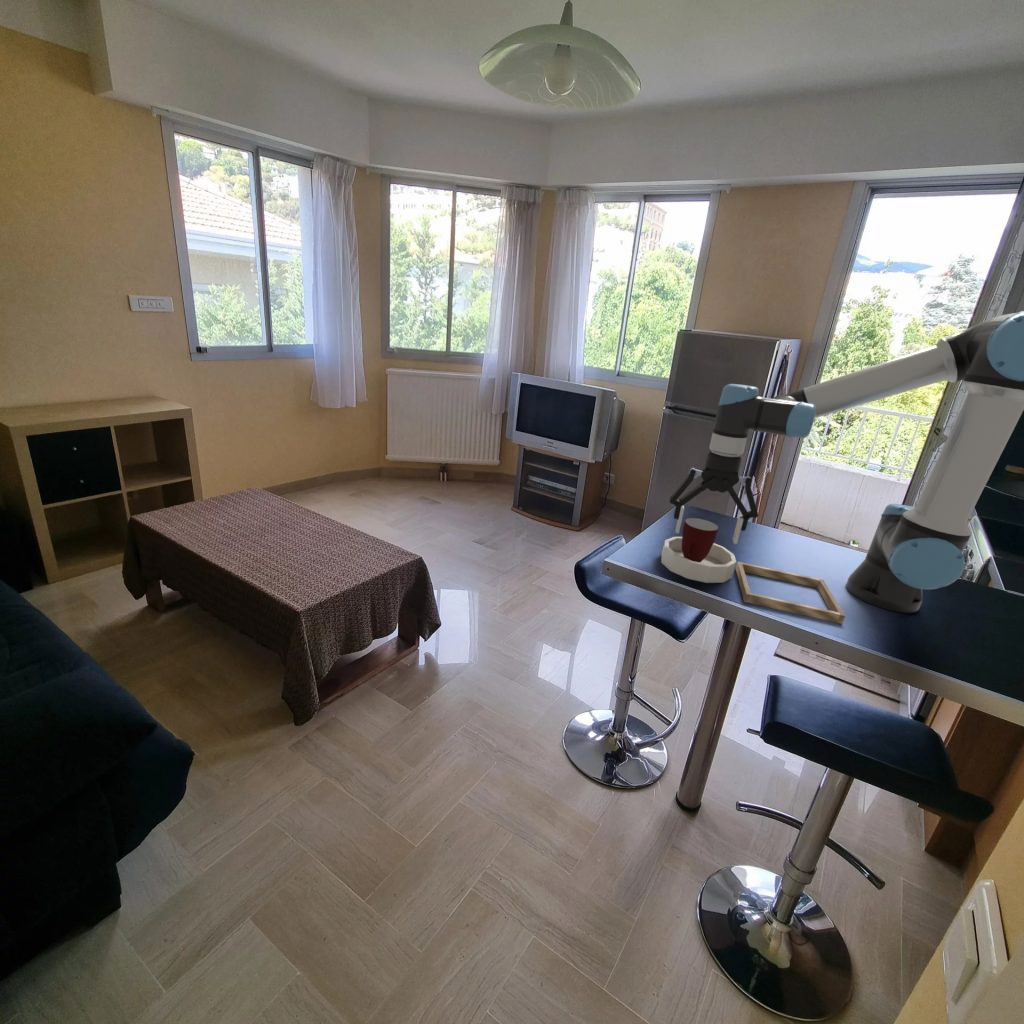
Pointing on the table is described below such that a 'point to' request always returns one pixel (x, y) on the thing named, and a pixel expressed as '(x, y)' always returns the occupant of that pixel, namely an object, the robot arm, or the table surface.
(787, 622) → the table surface
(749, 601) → the frame tray
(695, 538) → the mug
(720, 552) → the bowl
